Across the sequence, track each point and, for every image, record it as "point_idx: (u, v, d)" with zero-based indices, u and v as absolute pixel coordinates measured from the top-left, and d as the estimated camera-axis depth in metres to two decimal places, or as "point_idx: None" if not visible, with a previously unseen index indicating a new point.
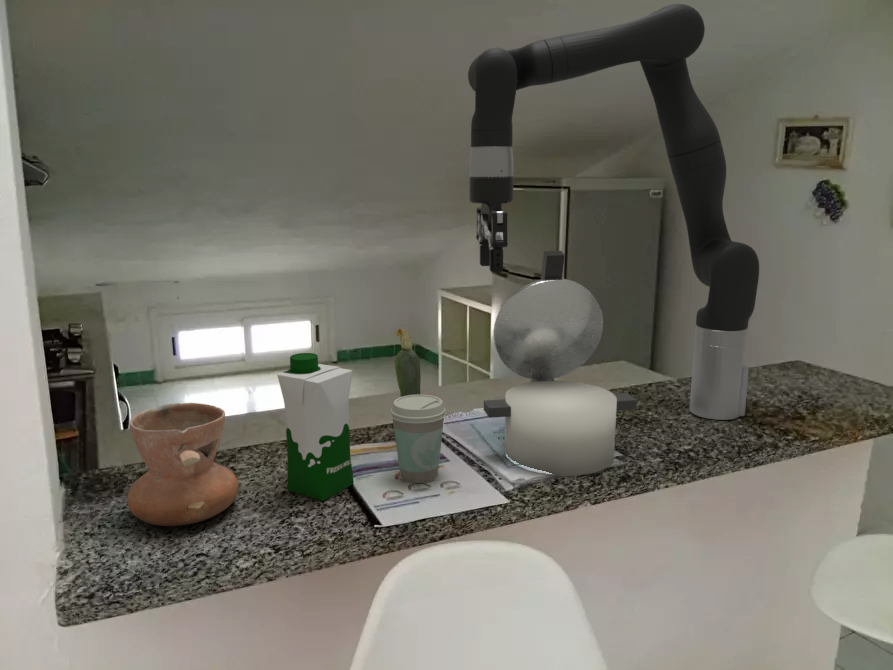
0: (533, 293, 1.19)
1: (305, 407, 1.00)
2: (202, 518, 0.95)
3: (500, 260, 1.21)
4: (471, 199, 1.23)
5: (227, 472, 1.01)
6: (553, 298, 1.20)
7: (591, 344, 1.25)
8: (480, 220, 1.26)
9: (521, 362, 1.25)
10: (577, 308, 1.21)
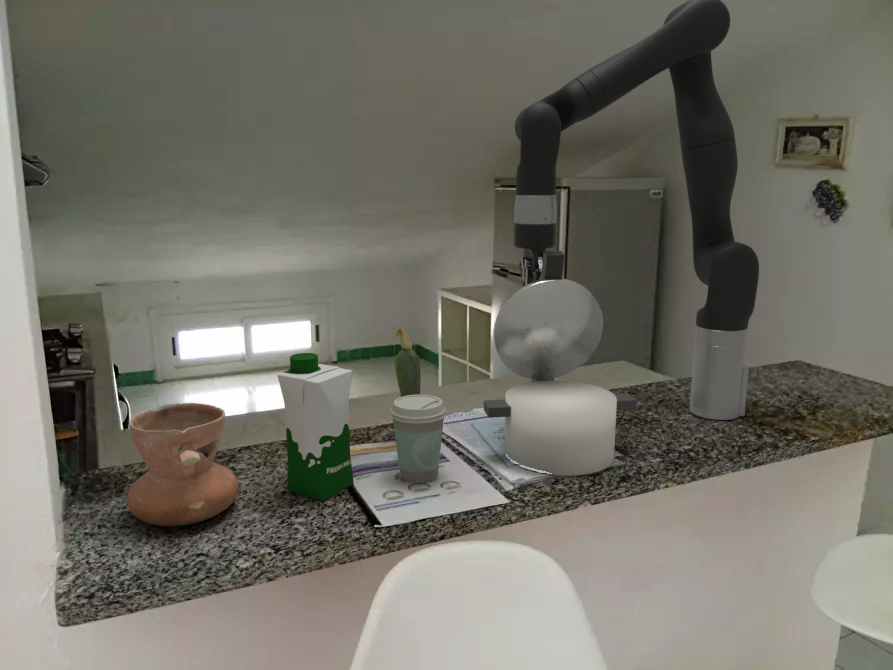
0: (533, 293, 1.19)
1: (305, 407, 1.00)
2: (202, 518, 0.95)
3: None
4: (516, 244, 1.29)
5: (227, 472, 1.01)
6: (553, 298, 1.20)
7: (591, 344, 1.25)
8: (524, 261, 1.31)
9: (521, 362, 1.25)
10: (577, 308, 1.21)
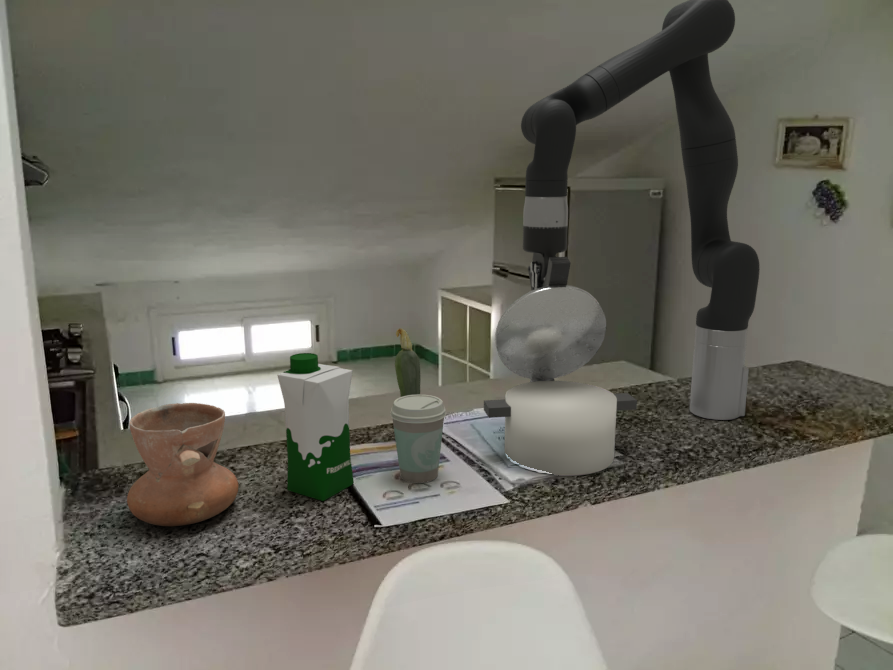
0: (537, 300, 1.17)
1: (305, 407, 1.00)
2: (202, 518, 0.95)
3: None
4: (525, 248, 1.22)
5: (227, 472, 1.01)
6: (557, 305, 1.18)
7: (593, 347, 1.24)
8: (533, 266, 1.25)
9: (522, 364, 1.24)
10: (581, 314, 1.20)
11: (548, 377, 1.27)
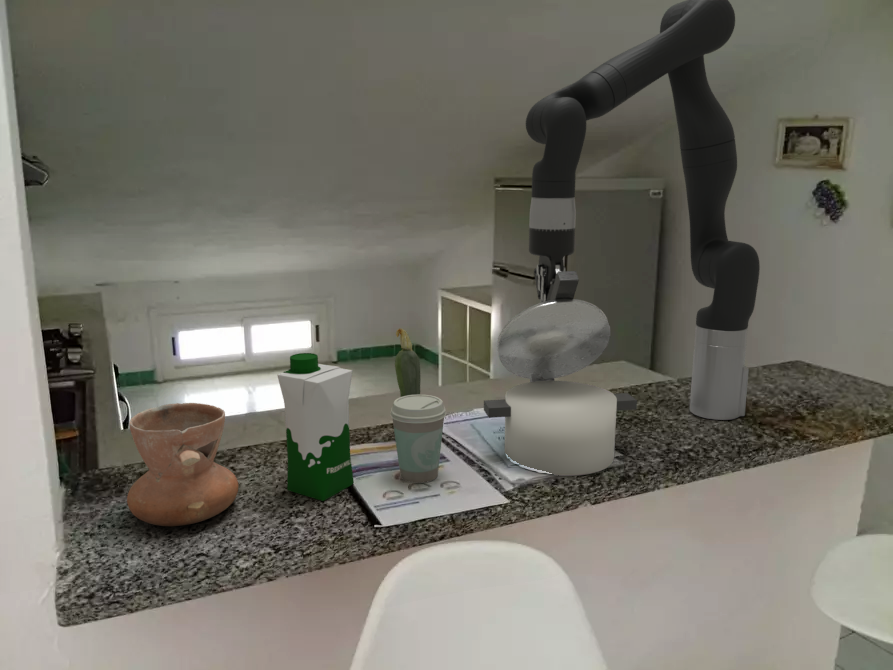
0: (542, 314, 1.14)
1: (305, 407, 1.00)
2: (202, 518, 0.95)
3: None
4: (531, 251, 1.18)
5: (227, 472, 1.01)
6: (562, 317, 1.16)
7: (595, 352, 1.23)
8: (539, 269, 1.21)
9: (523, 367, 1.24)
10: (585, 325, 1.18)
11: (548, 377, 1.27)
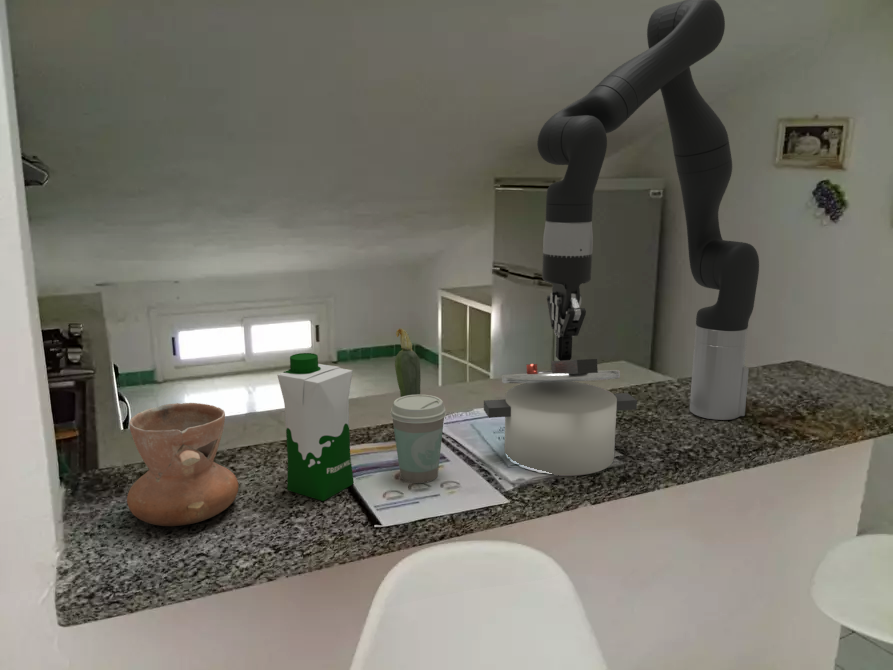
0: None
1: (305, 407, 1.00)
2: (202, 518, 0.95)
3: (569, 348, 1.13)
4: (545, 278, 1.11)
5: (227, 472, 1.01)
6: None
7: None
8: (553, 297, 1.13)
9: None
10: None
11: None
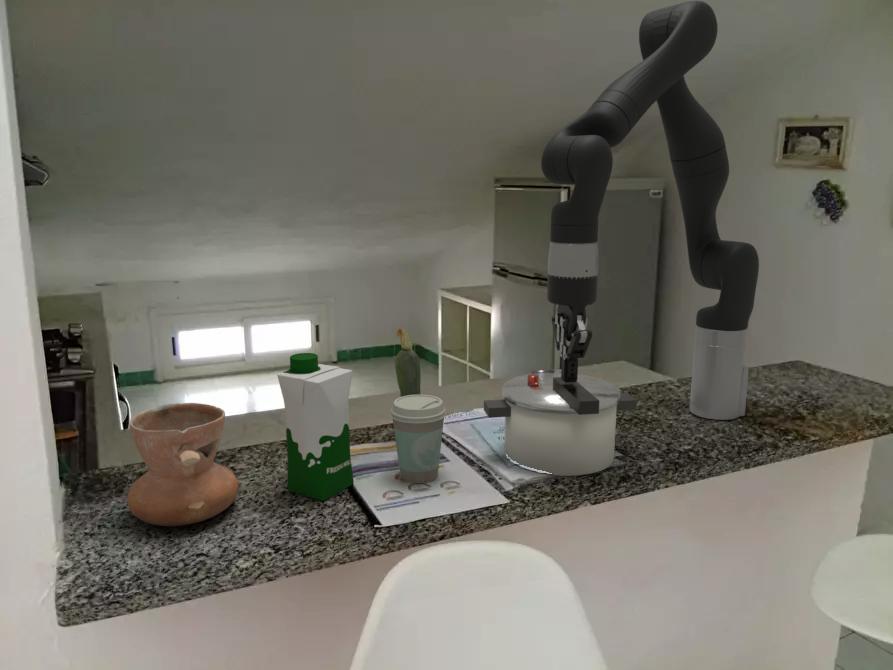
0: None
1: (305, 407, 1.00)
2: (202, 518, 0.95)
3: (574, 370, 1.11)
4: (550, 300, 1.09)
5: (227, 472, 1.01)
6: None
7: None
8: (559, 319, 1.11)
9: None
10: None
11: None
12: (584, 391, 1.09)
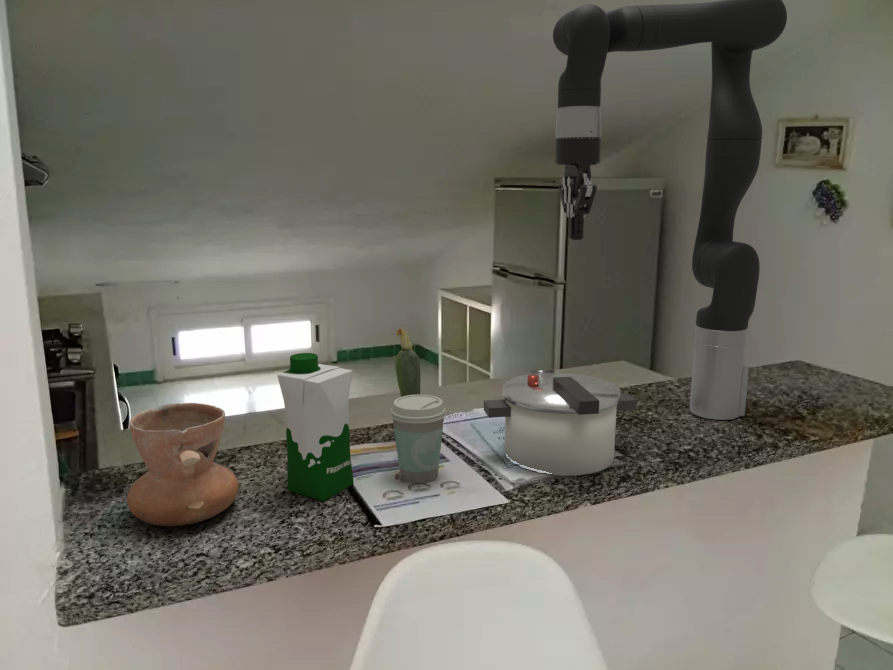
0: None
1: (305, 407, 1.00)
2: (202, 518, 0.95)
3: (581, 227, 1.23)
4: (558, 161, 1.21)
5: (227, 472, 1.01)
6: None
7: None
8: (566, 181, 1.23)
9: None
10: None
11: None
12: (584, 391, 1.09)
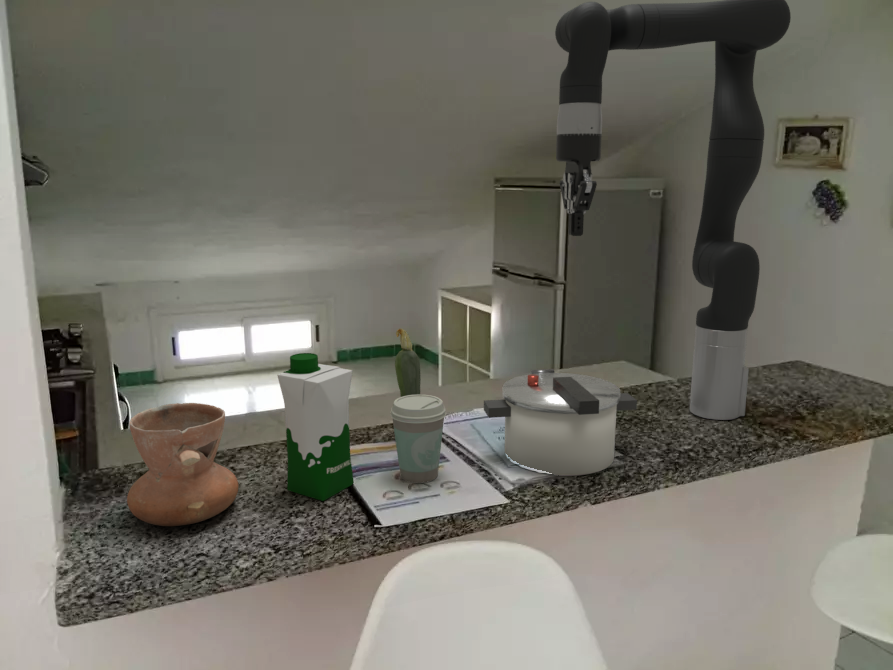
0: None
1: (305, 407, 1.00)
2: (202, 518, 0.95)
3: (580, 224, 1.24)
4: (559, 157, 1.22)
5: (227, 472, 1.01)
6: None
7: None
8: (566, 177, 1.24)
9: None
10: None
11: None
12: (584, 391, 1.09)
